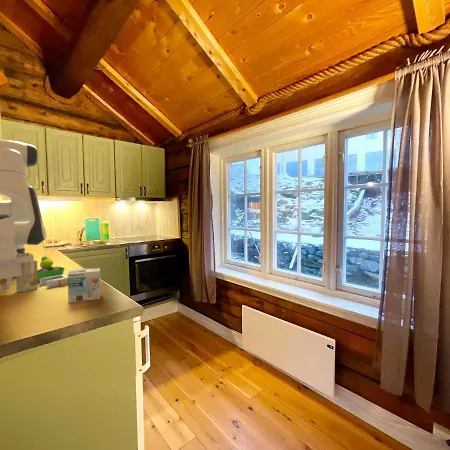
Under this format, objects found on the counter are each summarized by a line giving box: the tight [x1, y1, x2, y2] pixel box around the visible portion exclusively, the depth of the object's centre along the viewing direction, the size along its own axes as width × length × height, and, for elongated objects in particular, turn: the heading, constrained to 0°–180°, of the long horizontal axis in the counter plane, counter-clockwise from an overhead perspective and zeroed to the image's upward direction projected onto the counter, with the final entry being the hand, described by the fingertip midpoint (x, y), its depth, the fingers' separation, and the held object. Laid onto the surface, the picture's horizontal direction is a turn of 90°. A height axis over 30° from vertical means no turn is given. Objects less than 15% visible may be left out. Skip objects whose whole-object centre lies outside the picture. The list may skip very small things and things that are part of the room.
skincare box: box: [15, 260, 39, 293], centre depth 109 cm, size 6×4×12 cm
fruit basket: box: [37, 256, 66, 282], centre depth 127 cm, size 11×9×11 cm
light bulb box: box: [67, 267, 101, 304], centre depth 97 cm, size 11×7×11 cm, turn 117°
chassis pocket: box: [39, 274, 68, 289], centre depth 120 cm, size 18×13×3 cm
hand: (3, 289), depth 103 cm, fingers closed
